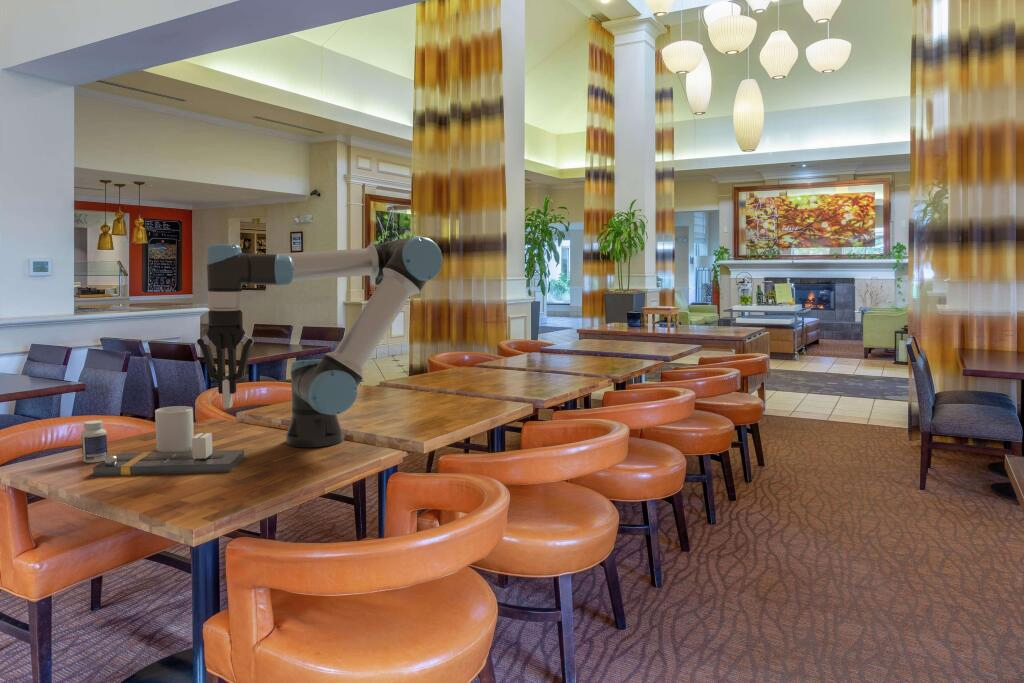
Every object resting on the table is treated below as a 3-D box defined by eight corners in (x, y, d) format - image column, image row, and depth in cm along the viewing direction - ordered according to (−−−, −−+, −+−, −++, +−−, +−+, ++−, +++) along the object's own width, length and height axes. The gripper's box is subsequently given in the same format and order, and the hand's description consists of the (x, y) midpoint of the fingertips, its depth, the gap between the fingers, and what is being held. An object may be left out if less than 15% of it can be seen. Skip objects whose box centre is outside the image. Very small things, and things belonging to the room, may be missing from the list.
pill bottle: (112, 459, 172) (110, 420, 171) (92, 464, 167) (89, 425, 166) (98, 456, 174) (96, 418, 173) (77, 461, 169) (75, 422, 168)
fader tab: (212, 452, 169) (211, 432, 168) (206, 458, 164) (205, 437, 163) (199, 453, 168) (198, 432, 168) (192, 458, 163) (192, 437, 163)
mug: (194, 453, 178) (192, 411, 177) (155, 456, 174) (153, 413, 173) (195, 442, 189) (193, 403, 188) (158, 446, 185) (157, 405, 184)
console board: (244, 457, 174) (243, 442, 173) (230, 472, 161) (229, 455, 160) (118, 461, 170) (117, 445, 170) (93, 476, 157) (92, 459, 157)
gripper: (257, 309, 168) (259, 403, 170) (201, 308, 166) (204, 404, 168) (249, 310, 161) (252, 409, 163) (191, 310, 159) (194, 410, 161)
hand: (227, 406), depth 166 cm, fingers closed
